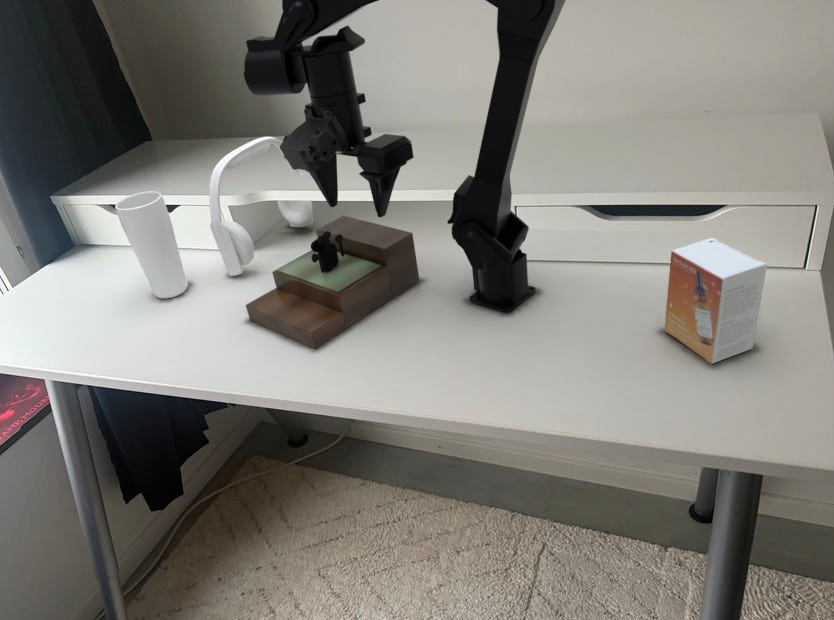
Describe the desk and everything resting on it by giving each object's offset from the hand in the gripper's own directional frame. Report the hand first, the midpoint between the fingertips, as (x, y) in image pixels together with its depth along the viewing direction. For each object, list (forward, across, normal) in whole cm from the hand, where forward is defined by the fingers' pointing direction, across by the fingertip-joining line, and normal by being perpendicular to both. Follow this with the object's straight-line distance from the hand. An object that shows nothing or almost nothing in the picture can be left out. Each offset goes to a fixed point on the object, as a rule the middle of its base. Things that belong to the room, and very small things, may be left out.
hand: (357, 211), depth 96 cm
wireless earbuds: (+7, -2, -5) cm, 9 cm away
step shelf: (+12, -2, -5) cm, 13 cm away
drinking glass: (+12, -29, -16) cm, 35 cm away
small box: (+12, +44, +9) cm, 47 cm away
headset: (+12, -24, +1) cm, 27 cm away
